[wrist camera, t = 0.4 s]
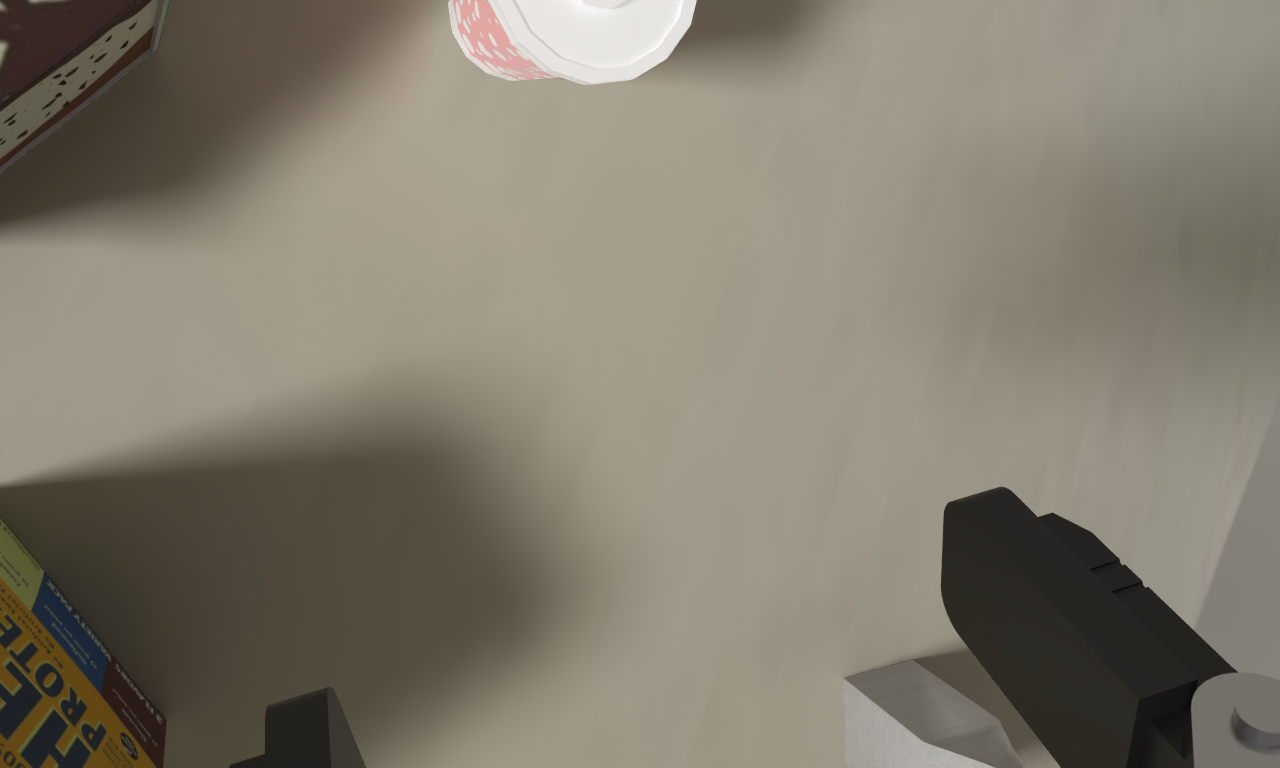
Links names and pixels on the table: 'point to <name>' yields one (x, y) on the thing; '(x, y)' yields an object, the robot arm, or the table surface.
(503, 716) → the table surface
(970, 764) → the small milk carton
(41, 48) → the food container
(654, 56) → the beverage cup
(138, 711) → the protein box
